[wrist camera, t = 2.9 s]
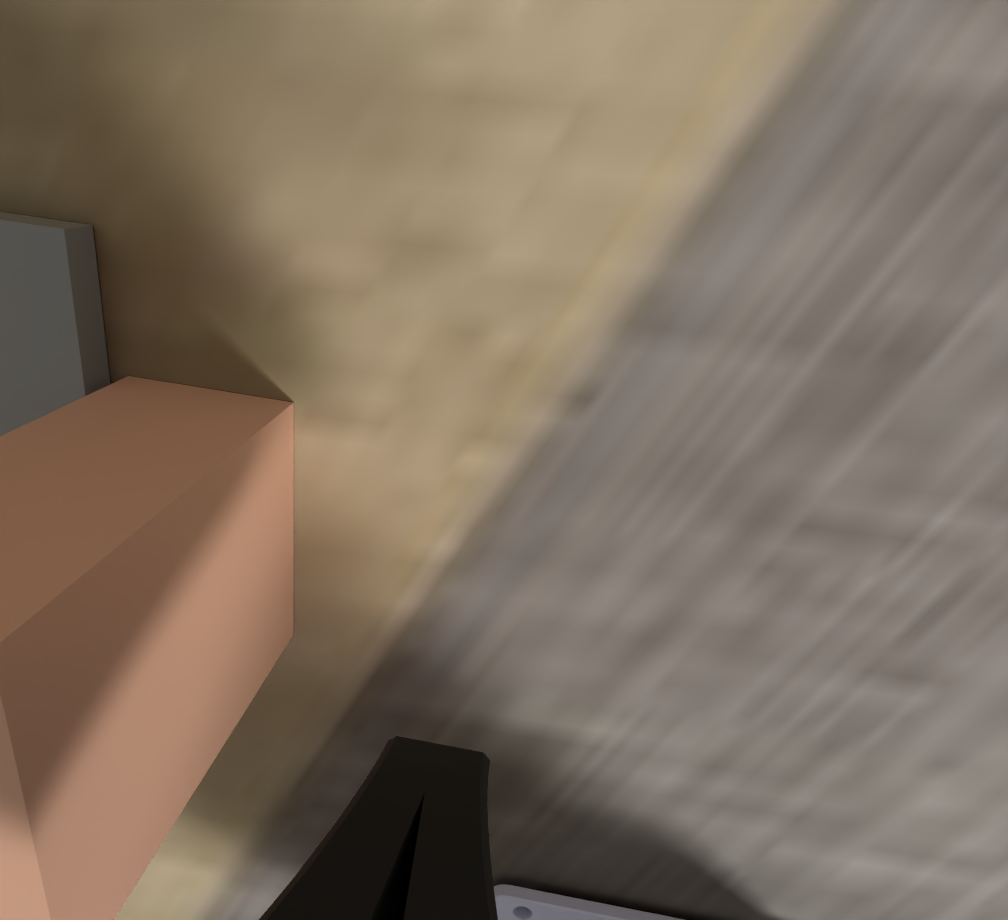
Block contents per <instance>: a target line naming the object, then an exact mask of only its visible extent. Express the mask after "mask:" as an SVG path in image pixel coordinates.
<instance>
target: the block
mask: <svg viewBox="0 0 1008 920" xmlns="http://www.w3.org/2000/svg"><path fill="white" fill-rule="evenodd" d="M293 635H294V403H293V402H287V401H281V400H275V399H268V398H262V397H256V396H250V395H244V394H237V393H231V392H225V391H219V390H213V389H206V388H200V387H194V386H188V385H182V384H175V383H169V382H163V381H157V380H151V379H144V378H138V377H132V376H127V377H125V378H123V379H121V380H119V381H117V382H115V383H112V384H110V385H108V386H106V387H104V388H102V389H100V390H98V391H95V392H93V393H91V394H89V395H87V396H85V397H83V398H81V399H78V400H76V401H74V402H72V403H70V404H68V405H66V406H64V407H62V408H59V409H57V410H55V411H53V412H51V413H49V414H47V415H45V416H42V417H40V418H38V419H36V420H34V421H32V422H30V423H28V424H25V425H23V426H21V427H19V428H17V429H15V430H13V431H11V432H9V433H6V434H4V435H2V436H0V920H114V918H115V917H116V915H117V914H118V912H119V910H120V909H121V907H122V906H123V904H124V902H125V901H126V899H127V898H128V896H129V895H130V893H131V891H132V890H133V888H134V887H135V885H136V883H137V882H138V880H139V879H140V877H141V876H142V874H143V872H144V871H145V869H146V868H147V866H148V864H149V863H150V861H151V860H152V858H153V857H154V855H155V853H156V852H157V850H158V849H159V847H160V845H161V844H162V842H163V841H164V839H165V838H166V836H167V834H168V833H169V831H170V830H171V828H172V826H173V825H174V823H175V822H176V820H177V819H178V817H179V815H180V814H181V812H182V811H183V809H184V807H185V806H186V804H187V803H188V801H189V800H190V798H191V796H192V795H193V793H194V792H195V790H196V788H197V787H198V785H199V784H200V782H201V781H202V779H203V777H204V776H205V774H206V773H207V771H208V769H209V768H210V766H211V765H212V763H213V762H214V760H215V758H216V757H217V755H218V754H219V752H220V750H221V749H222V747H223V746H224V744H225V743H226V741H227V739H228V738H229V736H230V735H231V733H232V731H233V730H234V728H235V727H236V725H237V724H238V722H239V720H240V719H241V717H242V716H243V714H244V712H245V711H246V709H247V708H248V706H249V705H250V703H251V701H252V700H253V698H254V697H255V695H256V693H257V692H258V690H259V689H260V687H261V686H262V684H263V682H264V681H265V679H266V678H267V676H268V674H269V673H270V671H271V670H272V668H273V667H274V665H275V663H276V662H277V660H278V659H279V657H280V655H281V654H282V652H283V651H284V649H285V648H286V646H287V644H288V643H289V641H290V640H291V638H292V636H293Z"/></svg>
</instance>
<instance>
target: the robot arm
mask: <svg viewBox="0 0 1008 920" xmlns="http://www.w3.org/2000/svg"><path fill="white" fill-rule="evenodd" d="M489 764H490V760H489V759H488V758H487V756H486V755H485V754H484V753H483V752H478V751H472V750H467V749H462V748H456V747H451V746H446V745H440V744H435V743H430V742H425V741H419V740H414V739H409V738H403V737H398V736H397V737H395V738H393V739H391V740H389V741H388V743H387V744H386V746H385V748H384V750H383V752H382V753H381V755H380V757H379V759H378V760H377V762H376V764H375V765H374V767H373V768H372V770H371V772H370V773H369V775H368V776H367V778H366V780H365V781H364V783H363V784H362V786H361V787H360V789H359V790H358V792H357V793H356V795H355V796H354V798H353V799H352V800H351V802H350V803H349V805H348V806H347V808H346V809H345V810H344V812H343V813H342V815H341V816H340V818H339V819H338V820H337V822H336V823H335V825H334V826H333V827H332V829H331V830H330V831H329V832H328V834H327V835H326V836H325V838H324V839H323V840H322V842H321V843H320V844H319V846H318V847H317V848H316V850H315V851H314V852H313V854H312V855H311V856H310V858H309V859H308V860H307V862H306V863H305V864H304V865H303V867H302V868H301V869H300V871H299V872H298V873H297V875H296V876H295V877H294V878H293V880H292V881H291V882H290V883H289V885H288V886H287V887H286V888H285V889H284V890H283V892H282V893H281V894H280V895H279V896H278V898H277V899H276V900H275V901H274V902H273V904H272V905H271V906H270V907H269V908H268V910H267V911H266V912H265V913H264V914H263V915H262V917H261V918H260V919H259V920H684V919H679V918H674V917H669V916H664V915H659V914H654V913H649V912H644V911H639V910H634V909H629V908H624V907H619V906H614V905H609V904H604V903H599V902H594V901H589V900H584V899H579V898H574V897H569V896H564V895H559V894H553V893H548V892H543V891H538V890H533V889H528V888H523V887H518V886H513V885H508V884H500V885H496V886H493V879H492V870H491V860H490V849H489V833H488V813H487V788H488V772H489Z"/></svg>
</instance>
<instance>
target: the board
mask: <svg viewBox="0 0 1008 920" xmlns="http://www.w3.org/2000/svg"><path fill="white" fill-rule="evenodd" d="M108 385H110V376H109V367H108V358H107V349H106V341H105V332H104V323H103V314H102V305H101V296H100V287H99V278H98V269H97V261H96V252H95V243H94V234H93V225H88V224H81V223H75V222H68V221H61V220H54V219H48V218H41V217H34V216H27V215H21V214H14V213H7V212H0V436H2V435H4V434H6V433H9V432H11V431H13V430H15V429H17V428H19V427H21V426H23V425H25V424H28V423H30V422H32V421H34V420H36V419H38V418H40V417H42V416H45V415H47V414H49V413H51V412H53V411H55V410H57V409H59V408H62V407H64V406H66V405H68V404H70V403H72V402H74V401H76V400H78V399H81V398H83V397H85V396H87V395H89V394H91V393H93V392H95V391H98V390H100V389H102V388H104V387H106V386H108Z"/></svg>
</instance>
